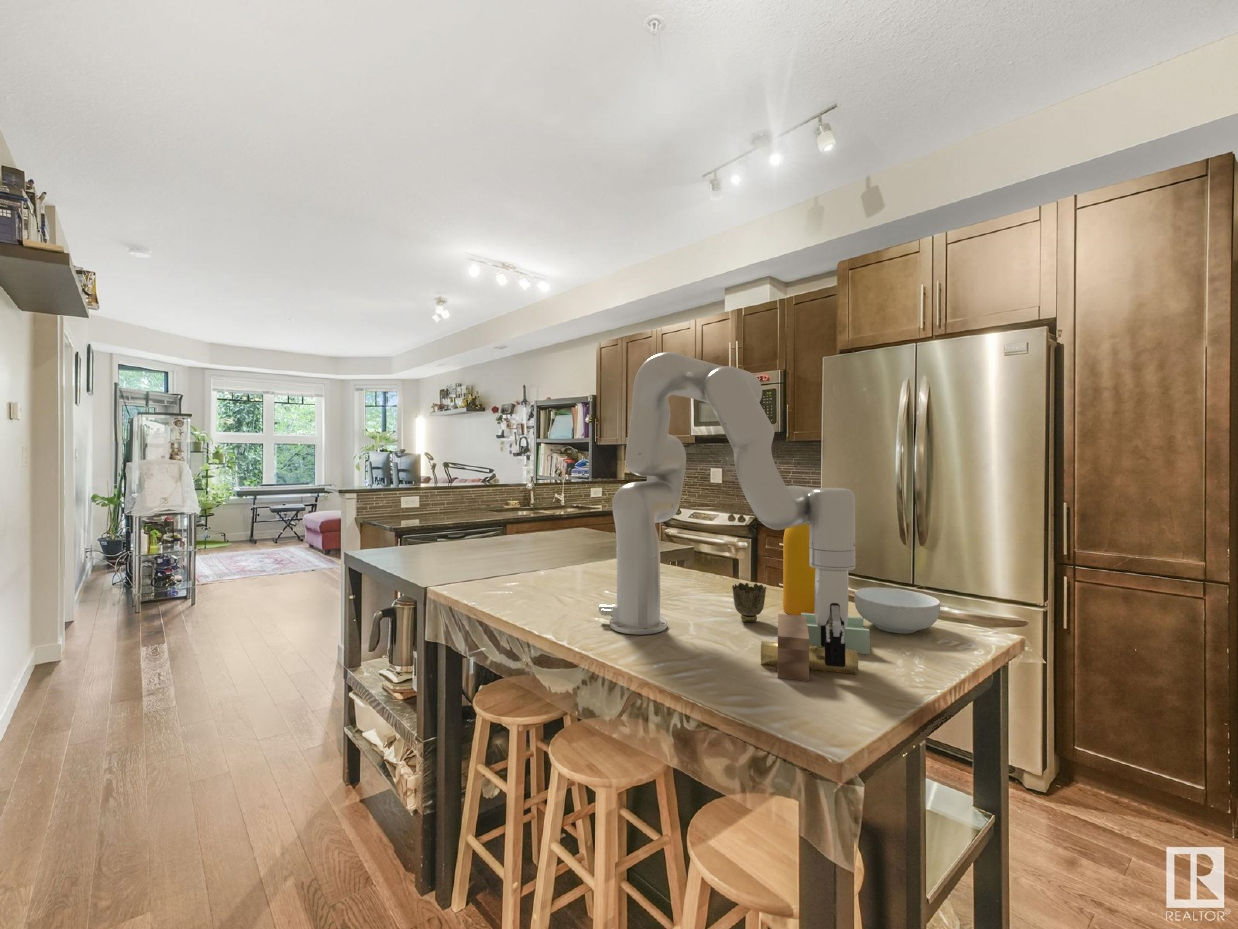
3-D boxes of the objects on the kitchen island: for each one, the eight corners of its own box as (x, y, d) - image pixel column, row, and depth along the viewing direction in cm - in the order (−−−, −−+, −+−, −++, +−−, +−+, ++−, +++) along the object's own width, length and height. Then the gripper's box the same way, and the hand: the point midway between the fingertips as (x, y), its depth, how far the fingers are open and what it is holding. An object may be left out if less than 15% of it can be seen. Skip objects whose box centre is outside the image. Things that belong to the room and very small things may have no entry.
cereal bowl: (912, 646, 110) (912, 610, 110) (838, 625, 124) (838, 593, 124) (955, 631, 120) (956, 598, 119) (882, 613, 133) (882, 583, 133)
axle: (760, 669, 100) (760, 650, 99) (761, 655, 104) (761, 636, 102) (857, 679, 96) (858, 659, 94) (854, 664, 99) (855, 644, 98)
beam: (777, 677, 94) (777, 636, 94) (778, 650, 108) (778, 614, 107) (808, 681, 93) (809, 639, 93) (805, 652, 106) (805, 616, 106)
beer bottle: (811, 606, 139) (812, 490, 139) (831, 617, 130) (831, 492, 130) (776, 608, 138) (777, 490, 137) (793, 618, 129) (794, 492, 128)
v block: (802, 648, 109) (802, 625, 109) (800, 634, 117) (800, 612, 117) (869, 654, 105) (869, 630, 105) (862, 639, 114) (862, 617, 114)
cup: (729, 623, 125) (729, 588, 125) (735, 615, 131) (735, 581, 131) (763, 627, 122) (763, 591, 122) (768, 618, 129) (768, 584, 129)
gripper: (807, 550, 107) (807, 639, 108) (812, 566, 91) (812, 671, 91) (849, 551, 105) (849, 642, 105) (862, 568, 89) (862, 676, 89)
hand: (832, 656), depth 98 cm, fingers open, 9 cm apart
